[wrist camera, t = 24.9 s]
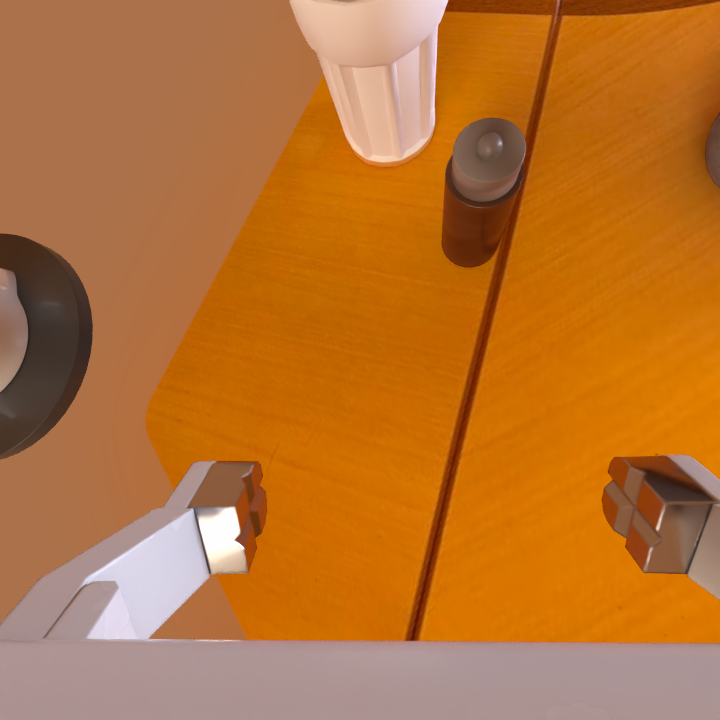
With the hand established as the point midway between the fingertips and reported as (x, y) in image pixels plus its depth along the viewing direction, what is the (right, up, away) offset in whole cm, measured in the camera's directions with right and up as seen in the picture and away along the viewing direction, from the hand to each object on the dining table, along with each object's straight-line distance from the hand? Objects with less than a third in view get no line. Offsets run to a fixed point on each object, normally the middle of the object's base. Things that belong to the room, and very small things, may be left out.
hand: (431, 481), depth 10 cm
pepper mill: (+9, +14, +29) cm, 33 cm away
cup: (+1, +27, +32) cm, 42 cm away
